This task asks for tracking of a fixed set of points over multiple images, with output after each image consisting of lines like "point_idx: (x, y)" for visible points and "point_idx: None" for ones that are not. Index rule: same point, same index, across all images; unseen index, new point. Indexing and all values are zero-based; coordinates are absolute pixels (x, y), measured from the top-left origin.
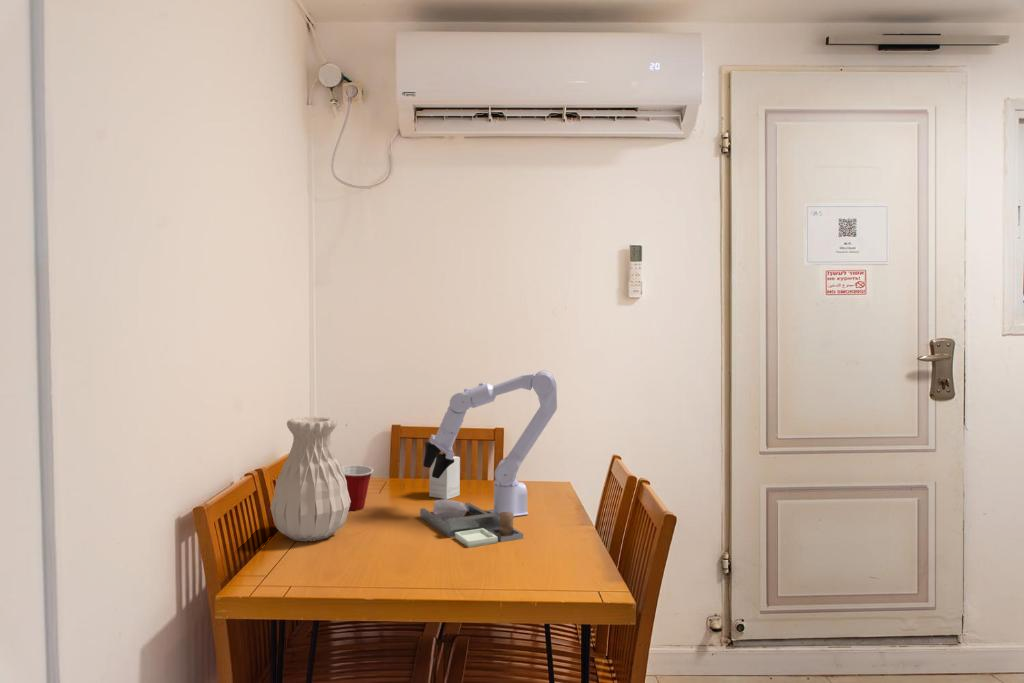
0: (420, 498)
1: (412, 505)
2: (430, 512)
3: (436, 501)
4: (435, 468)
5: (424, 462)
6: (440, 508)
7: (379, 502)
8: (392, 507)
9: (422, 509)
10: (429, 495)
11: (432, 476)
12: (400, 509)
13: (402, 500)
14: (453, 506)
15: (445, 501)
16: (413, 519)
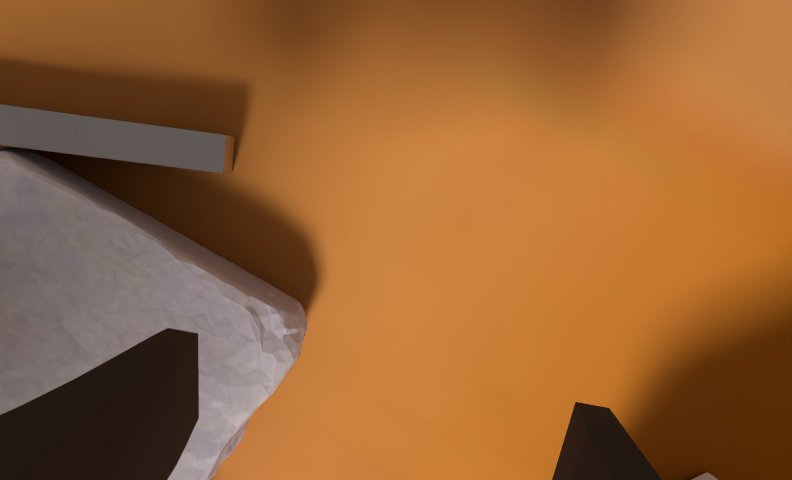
0: (702, 391)
1: (566, 246)
2: (54, 149)
3: (223, 310)
4: (43, 394)
5: (598, 436)
6: (41, 253)
7: (785, 66)
8: (604, 84)
9: (189, 138)
10: (710, 476)
11: (176, 331)
12: (518, 110)
13: (732, 247)
14: None
15: None
16: (201, 57)
